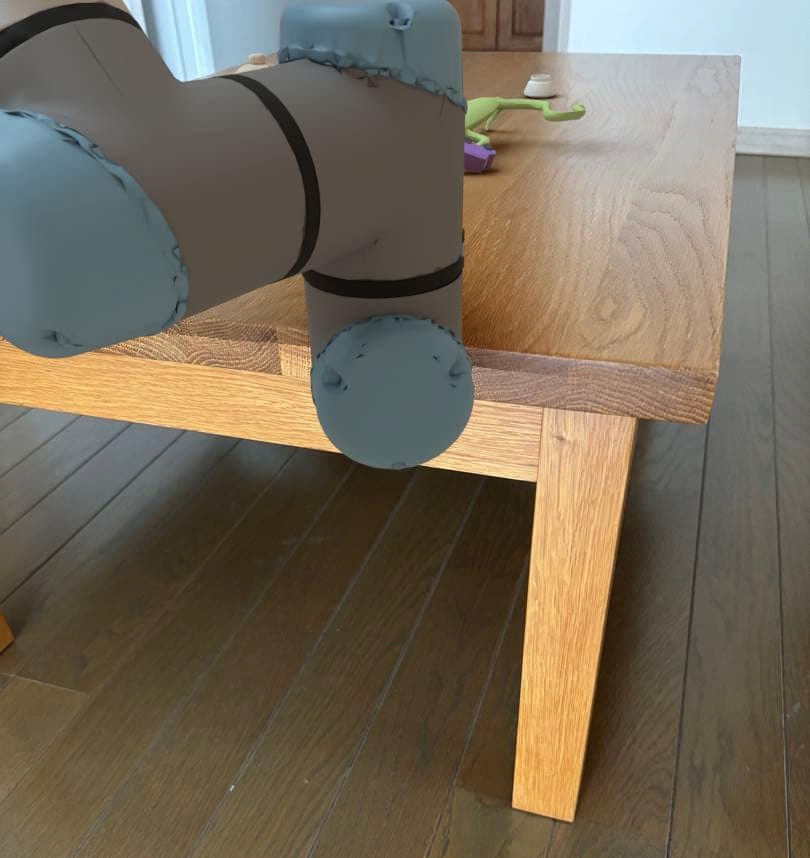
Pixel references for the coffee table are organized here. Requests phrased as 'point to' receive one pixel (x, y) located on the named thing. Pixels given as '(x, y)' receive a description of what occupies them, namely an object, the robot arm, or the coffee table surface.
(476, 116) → the figurine
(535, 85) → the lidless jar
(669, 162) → the coffee table surface
